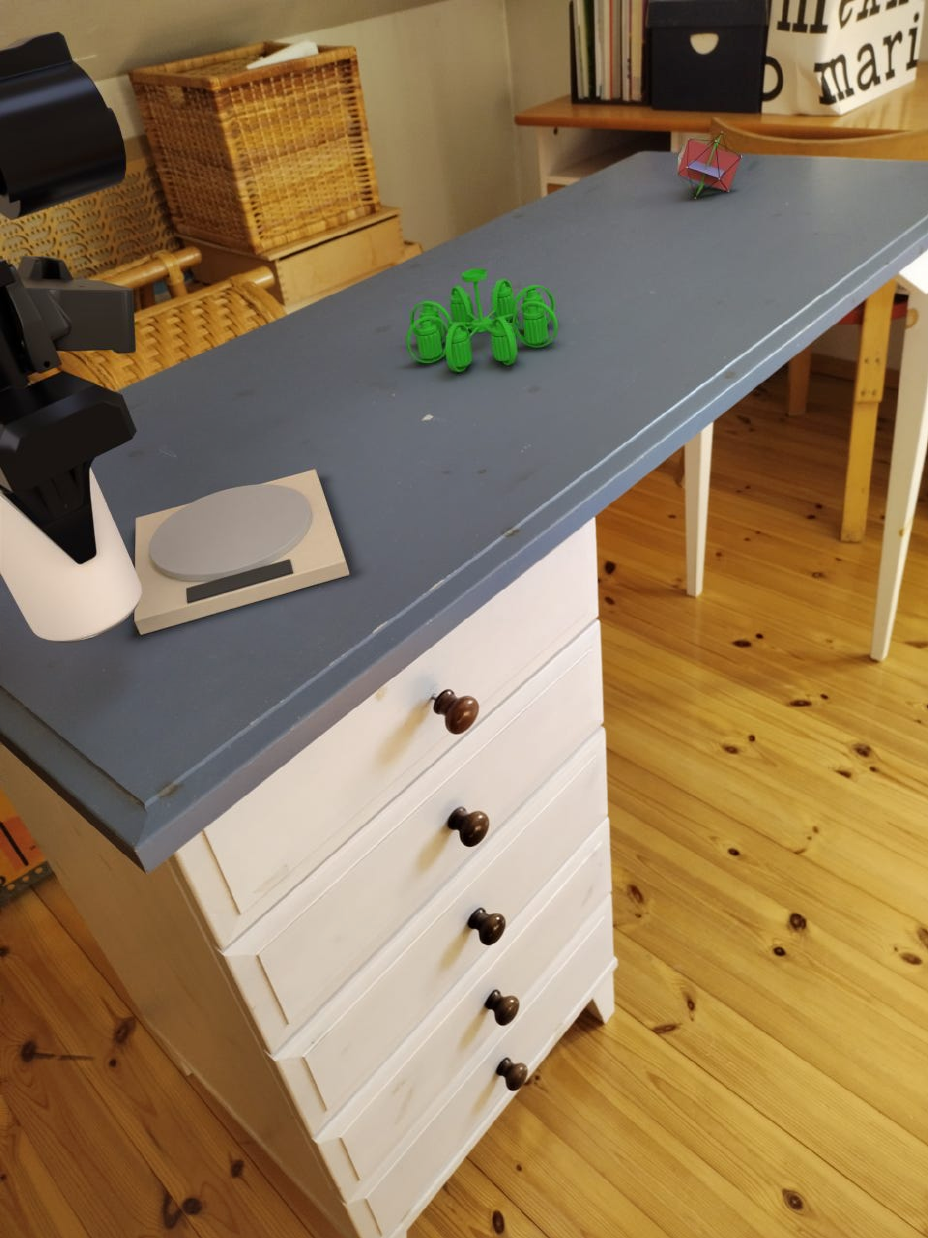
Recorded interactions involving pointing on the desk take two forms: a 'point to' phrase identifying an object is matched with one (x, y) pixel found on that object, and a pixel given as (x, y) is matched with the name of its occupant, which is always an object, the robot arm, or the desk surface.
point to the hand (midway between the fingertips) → (58, 541)
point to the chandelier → (481, 323)
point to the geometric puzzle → (707, 164)
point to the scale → (234, 550)
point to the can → (68, 577)
